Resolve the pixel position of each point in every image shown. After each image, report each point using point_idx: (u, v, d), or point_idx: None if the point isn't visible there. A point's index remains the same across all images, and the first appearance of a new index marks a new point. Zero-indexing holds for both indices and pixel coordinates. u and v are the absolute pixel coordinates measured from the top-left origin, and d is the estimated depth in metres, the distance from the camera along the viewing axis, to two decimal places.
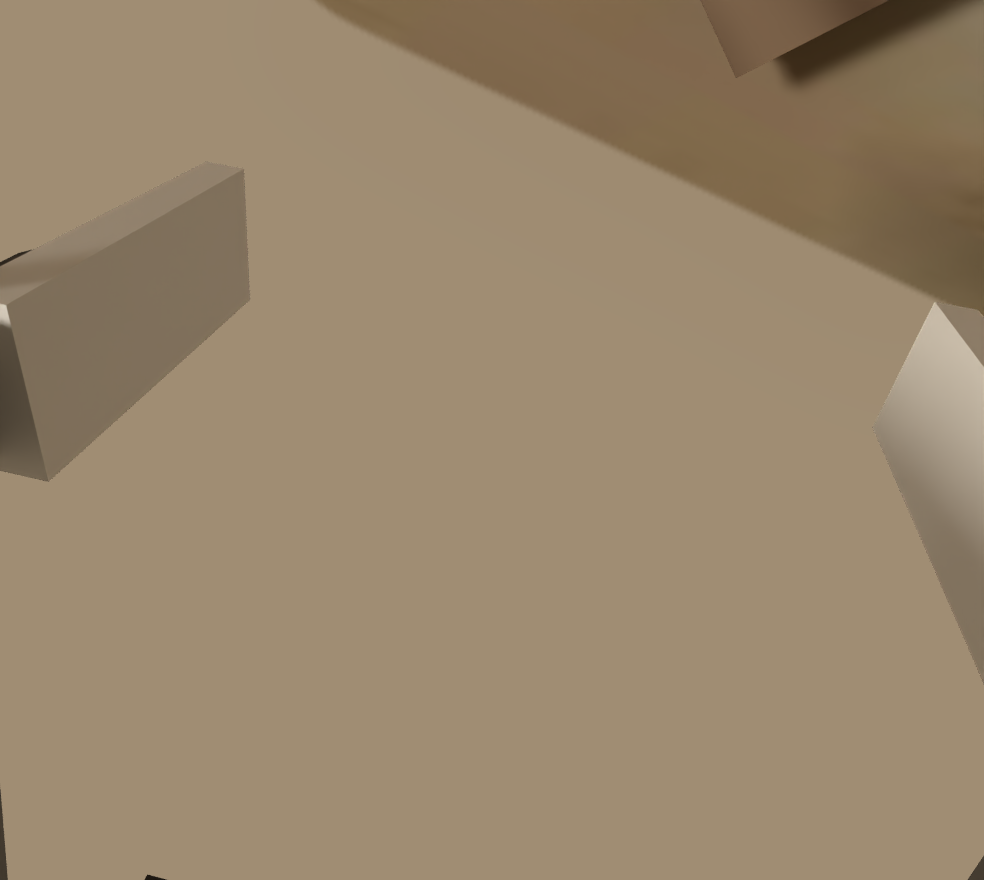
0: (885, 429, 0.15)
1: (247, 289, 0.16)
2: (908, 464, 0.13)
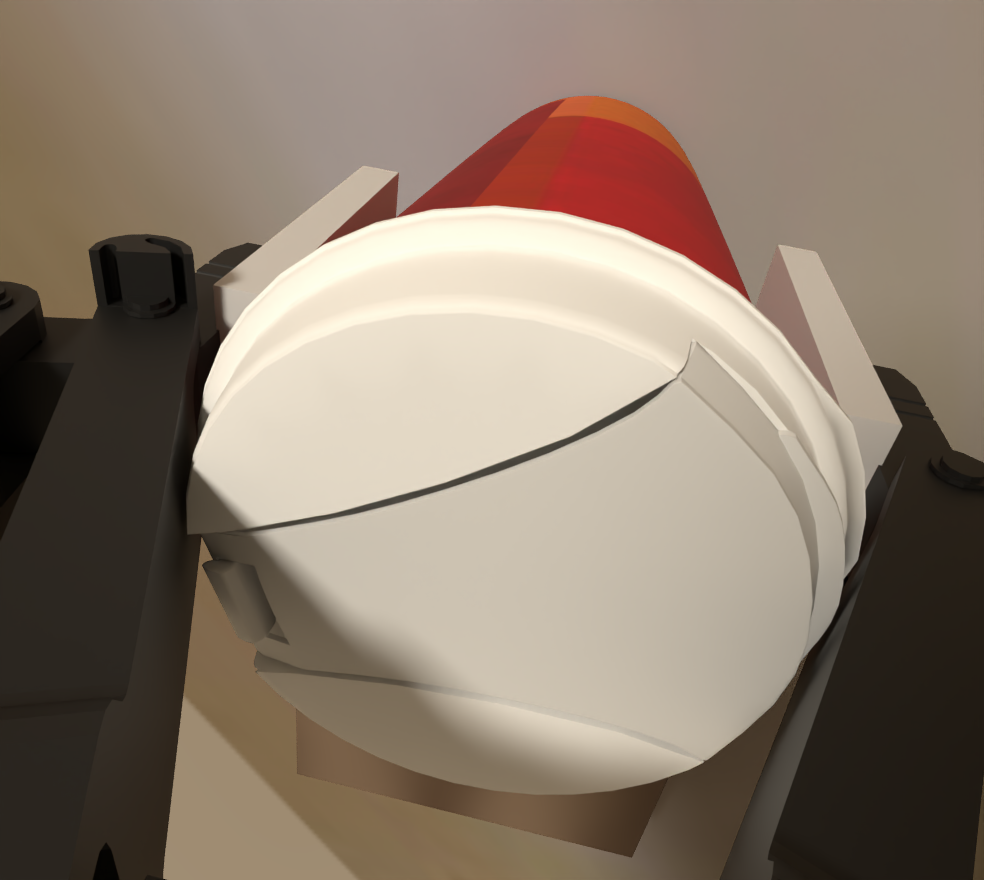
0: None
1: None
2: None
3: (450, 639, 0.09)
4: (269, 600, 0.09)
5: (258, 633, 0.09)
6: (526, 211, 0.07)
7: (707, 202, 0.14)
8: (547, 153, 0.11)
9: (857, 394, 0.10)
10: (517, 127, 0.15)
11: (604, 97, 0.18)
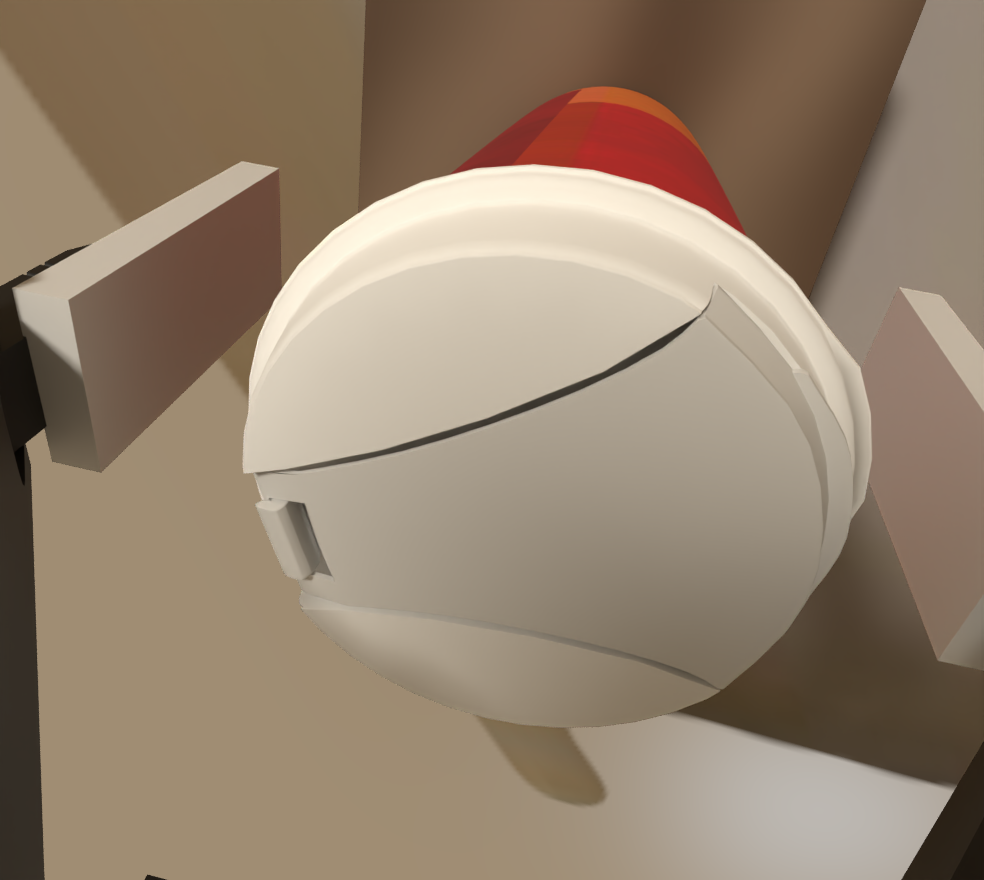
0: None
1: (279, 286, 0.16)
2: (872, 445, 0.14)
3: (485, 572, 0.09)
4: (317, 537, 0.09)
5: (305, 570, 0.10)
6: (562, 169, 0.08)
7: None
8: (571, 131, 0.12)
9: None
10: (538, 112, 0.15)
11: None
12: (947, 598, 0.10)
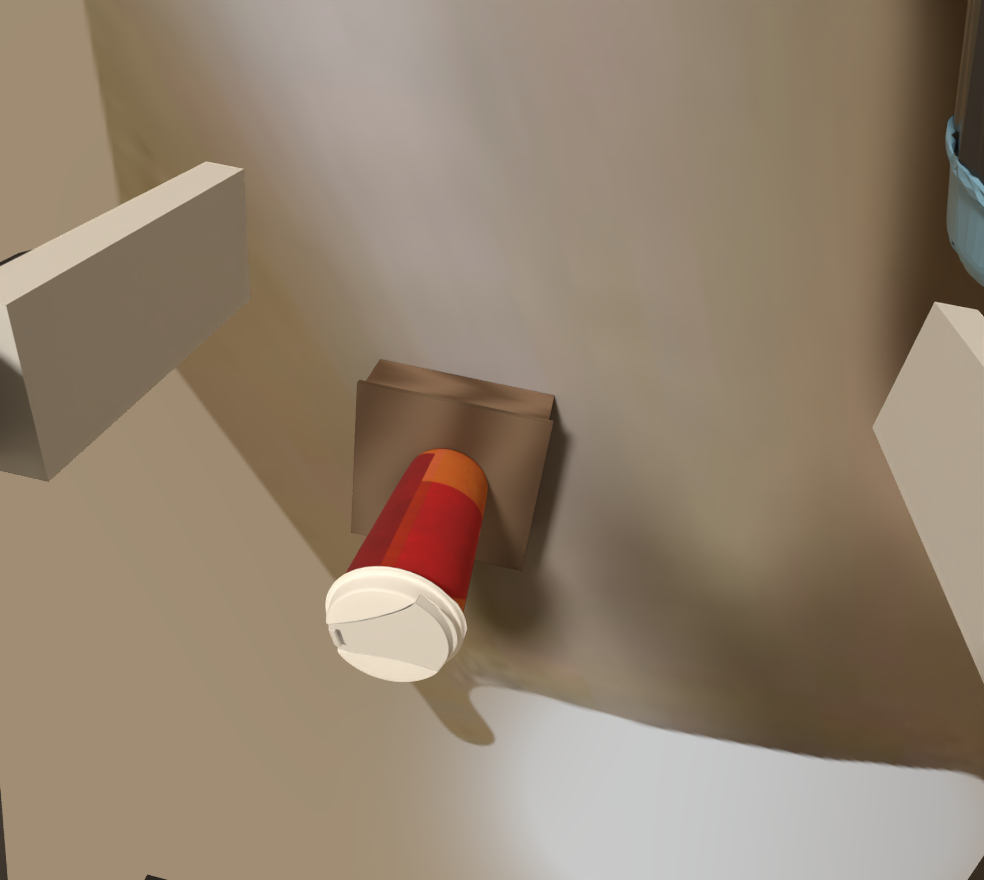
0: (885, 429, 0.15)
1: (247, 289, 0.16)
2: (908, 464, 0.13)
3: (381, 645, 0.41)
4: (342, 637, 0.41)
5: (339, 644, 0.41)
6: (392, 568, 0.39)
7: (467, 512, 0.46)
8: (410, 520, 0.43)
9: None
10: (411, 484, 0.47)
11: (449, 451, 0.50)
12: None
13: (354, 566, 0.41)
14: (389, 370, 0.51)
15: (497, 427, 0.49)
